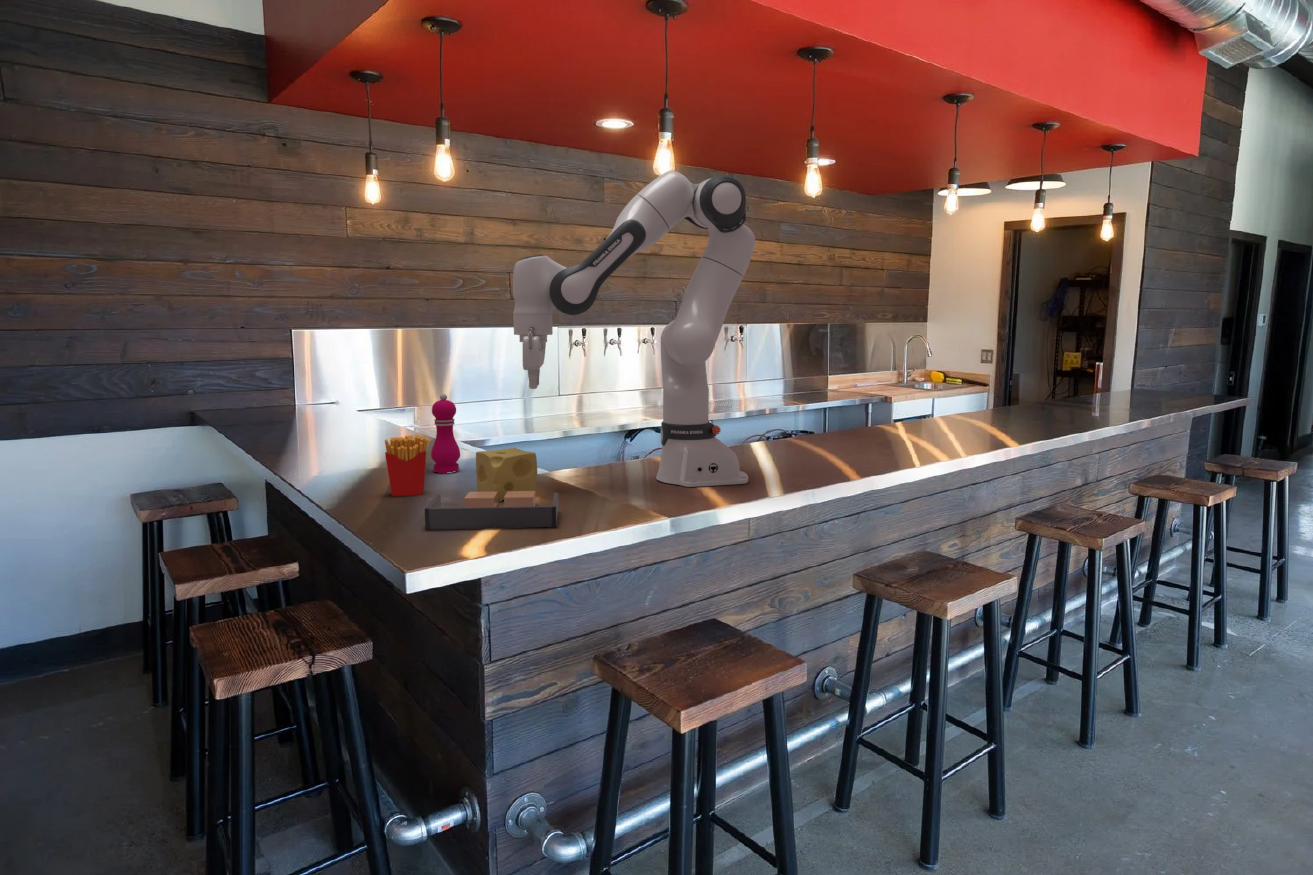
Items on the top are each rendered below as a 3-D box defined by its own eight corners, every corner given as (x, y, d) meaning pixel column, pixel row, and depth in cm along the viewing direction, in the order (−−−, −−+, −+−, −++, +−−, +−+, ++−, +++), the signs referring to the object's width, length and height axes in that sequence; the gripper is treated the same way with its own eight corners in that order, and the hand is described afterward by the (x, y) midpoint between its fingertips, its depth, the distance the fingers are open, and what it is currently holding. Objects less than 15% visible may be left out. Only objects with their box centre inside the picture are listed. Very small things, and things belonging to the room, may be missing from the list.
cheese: (495, 503, 170) (493, 457, 169) (474, 494, 179) (473, 450, 177) (538, 496, 176) (537, 452, 175) (516, 488, 185) (515, 445, 183)
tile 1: (498, 505, 170) (497, 491, 169) (494, 512, 164) (493, 498, 163) (469, 505, 169) (469, 491, 169) (464, 512, 163) (464, 498, 163)
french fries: (387, 497, 175) (384, 439, 173) (386, 493, 179) (383, 436, 177) (430, 494, 178) (428, 436, 176) (428, 490, 182) (426, 434, 180)
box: (558, 511, 163) (558, 492, 162) (556, 527, 151) (555, 506, 151) (437, 513, 161) (436, 494, 160) (425, 529, 149) (424, 509, 148)
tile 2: (535, 504, 170) (535, 490, 170) (533, 511, 164) (533, 497, 164) (507, 504, 170) (507, 491, 170) (504, 511, 164) (503, 497, 164)
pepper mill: (453, 474, 200) (450, 395, 196) (426, 473, 201) (423, 394, 198) (465, 469, 206) (462, 392, 203) (439, 468, 208) (436, 392, 205)
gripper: (544, 328, 172) (545, 391, 174) (549, 326, 192) (549, 383, 195) (515, 328, 172) (516, 391, 174) (522, 326, 192) (523, 383, 194)
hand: (534, 387), depth 184 cm, fingers open, 5 cm apart
